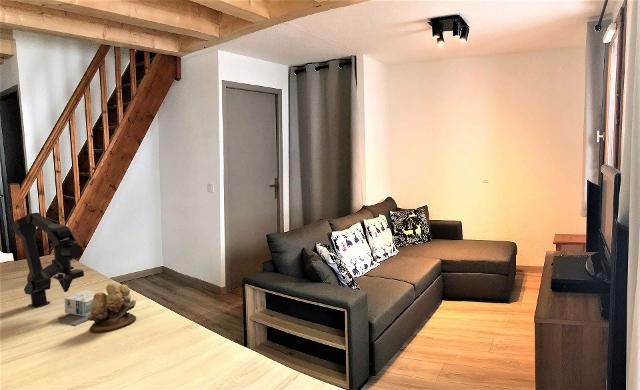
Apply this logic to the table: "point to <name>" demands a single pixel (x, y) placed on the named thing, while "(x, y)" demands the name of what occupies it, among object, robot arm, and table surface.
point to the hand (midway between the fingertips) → (65, 291)
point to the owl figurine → (111, 309)
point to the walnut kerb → (64, 316)
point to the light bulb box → (79, 303)
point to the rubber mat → (74, 319)
